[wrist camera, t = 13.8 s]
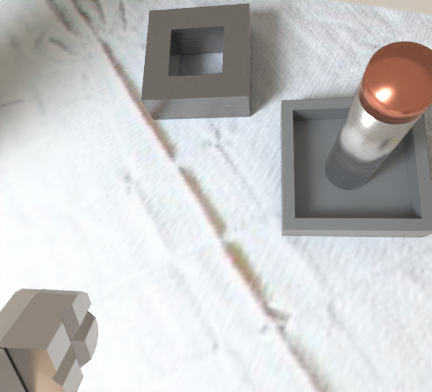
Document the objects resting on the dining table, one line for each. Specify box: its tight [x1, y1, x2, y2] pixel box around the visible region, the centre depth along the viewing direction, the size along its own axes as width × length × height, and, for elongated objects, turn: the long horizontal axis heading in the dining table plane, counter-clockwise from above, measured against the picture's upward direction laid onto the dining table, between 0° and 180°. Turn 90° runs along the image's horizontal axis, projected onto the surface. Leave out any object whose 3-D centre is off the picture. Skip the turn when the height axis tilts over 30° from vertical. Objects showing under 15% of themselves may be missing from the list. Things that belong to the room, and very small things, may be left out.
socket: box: [141, 4, 251, 120], centre depth 38 cm, size 10×10×4 cm
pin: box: [325, 42, 432, 190], centre depth 28 cm, size 4×4×15 cm
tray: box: [281, 98, 432, 237], centre depth 34 cm, size 12×12×3 cm
